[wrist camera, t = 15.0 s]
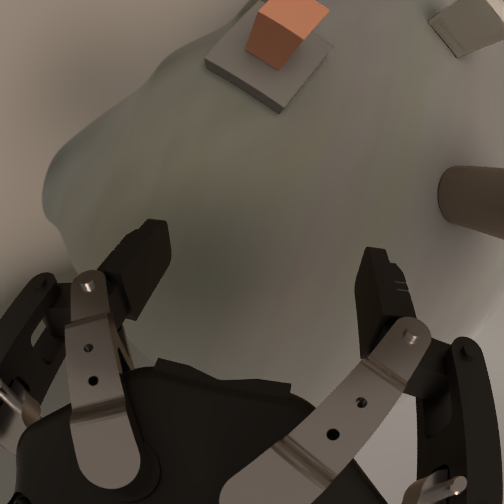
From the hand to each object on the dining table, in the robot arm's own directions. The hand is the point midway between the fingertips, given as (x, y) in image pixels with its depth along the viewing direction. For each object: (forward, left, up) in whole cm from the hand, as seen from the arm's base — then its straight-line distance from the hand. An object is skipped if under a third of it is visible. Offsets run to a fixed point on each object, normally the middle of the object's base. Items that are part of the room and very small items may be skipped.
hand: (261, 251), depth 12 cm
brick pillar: (-13, -14, -21) cm, 29 cm away
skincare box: (-46, -8, -25) cm, 53 cm away
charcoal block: (-13, -14, -25) cm, 32 cm away
